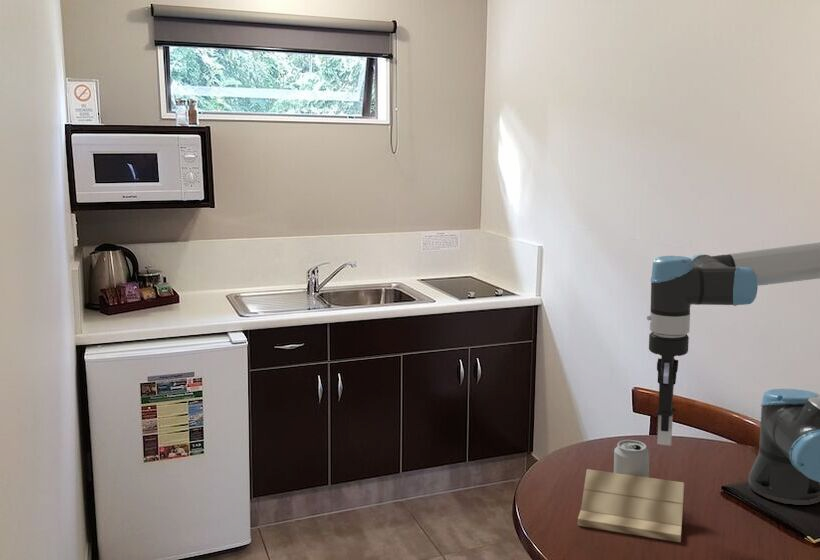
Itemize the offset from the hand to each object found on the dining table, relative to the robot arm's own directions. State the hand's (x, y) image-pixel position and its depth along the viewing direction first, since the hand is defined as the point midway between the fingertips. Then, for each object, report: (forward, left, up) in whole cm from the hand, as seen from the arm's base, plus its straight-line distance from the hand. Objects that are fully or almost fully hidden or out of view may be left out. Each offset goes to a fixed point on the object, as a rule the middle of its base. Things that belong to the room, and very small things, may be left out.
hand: (664, 443), depth 151 cm
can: (+7, -7, -16) cm, 19 cm away
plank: (+6, +1, -13) cm, 14 cm away
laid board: (+6, +8, -16) cm, 19 cm away
